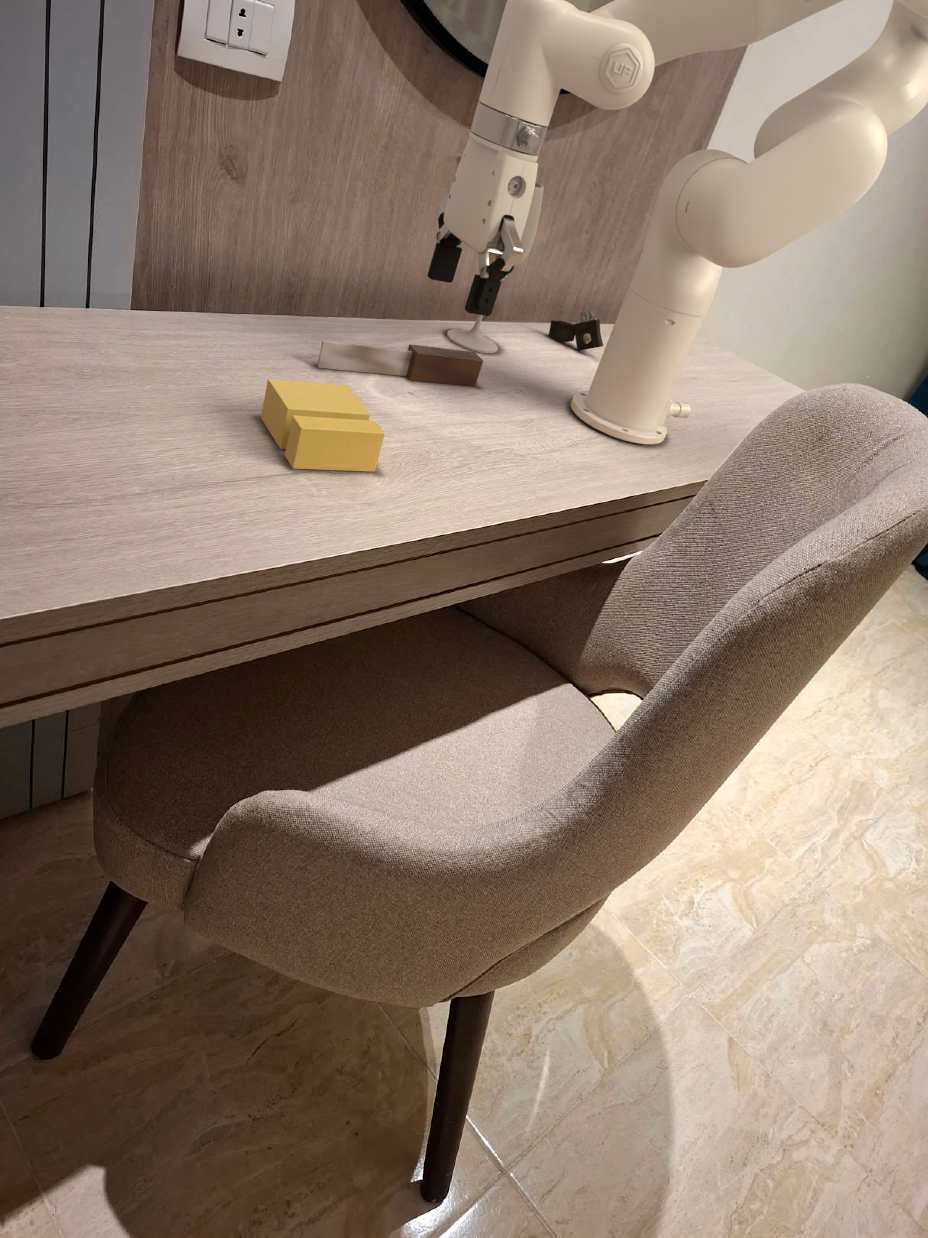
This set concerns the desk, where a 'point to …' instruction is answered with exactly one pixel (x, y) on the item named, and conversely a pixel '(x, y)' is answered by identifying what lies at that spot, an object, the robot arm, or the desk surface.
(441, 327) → the desk surface
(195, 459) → the desk surface
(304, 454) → the butter slice
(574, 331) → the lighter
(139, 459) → the desk surface
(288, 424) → the butter block
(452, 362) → the knife
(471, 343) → the wineglass
